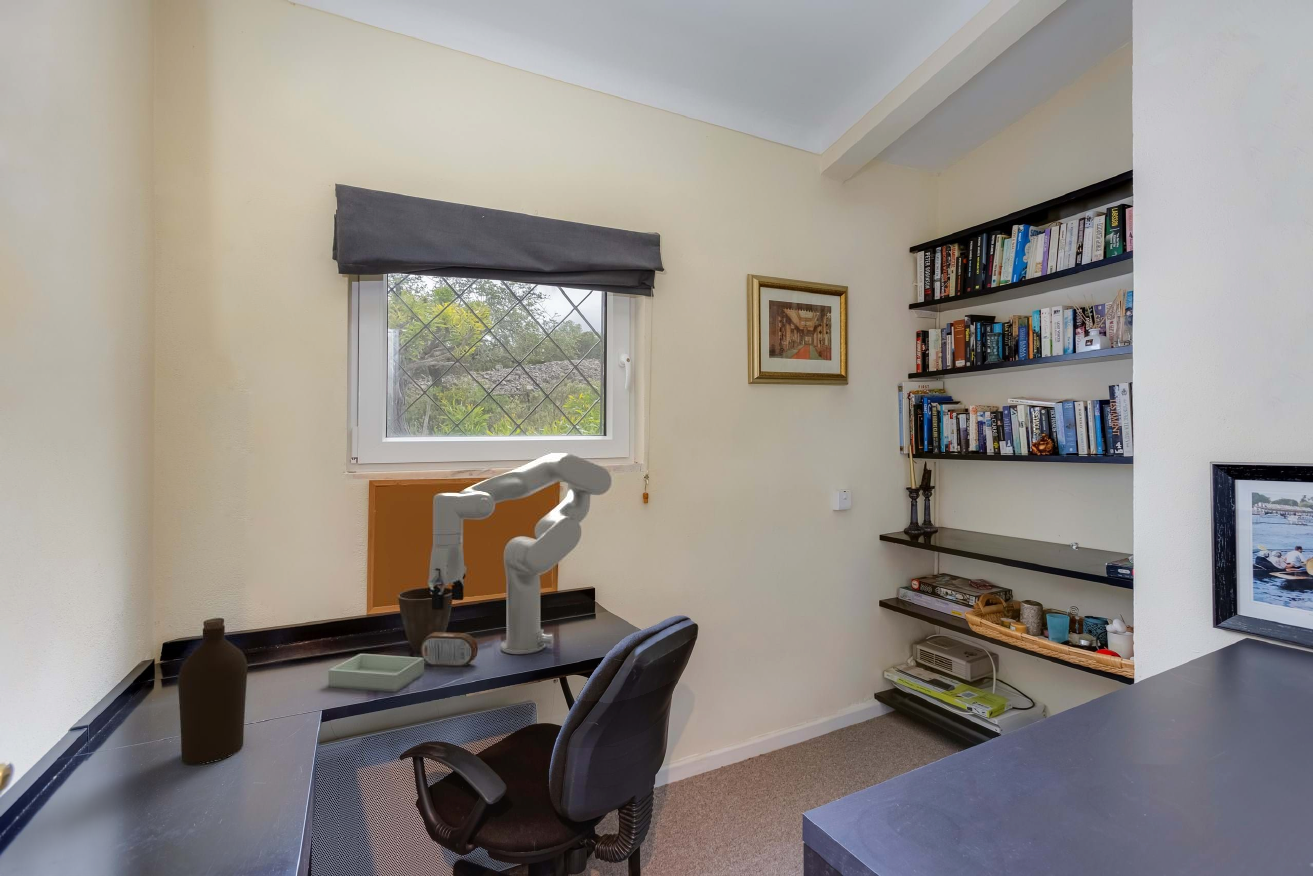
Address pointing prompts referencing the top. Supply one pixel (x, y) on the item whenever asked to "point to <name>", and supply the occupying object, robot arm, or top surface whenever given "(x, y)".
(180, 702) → the olive oil
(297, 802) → the top surface
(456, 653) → the tin
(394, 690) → the tray
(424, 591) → the plant pot
